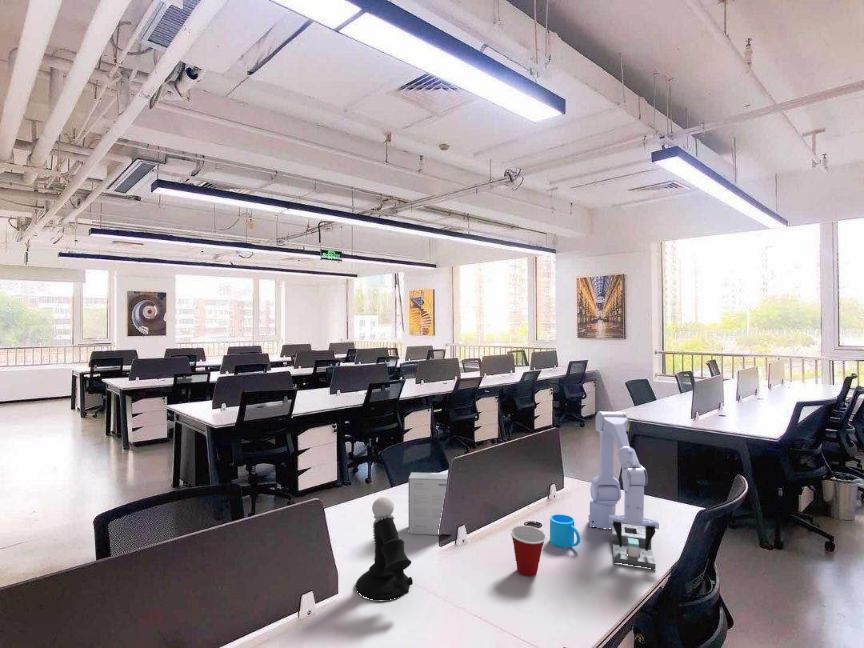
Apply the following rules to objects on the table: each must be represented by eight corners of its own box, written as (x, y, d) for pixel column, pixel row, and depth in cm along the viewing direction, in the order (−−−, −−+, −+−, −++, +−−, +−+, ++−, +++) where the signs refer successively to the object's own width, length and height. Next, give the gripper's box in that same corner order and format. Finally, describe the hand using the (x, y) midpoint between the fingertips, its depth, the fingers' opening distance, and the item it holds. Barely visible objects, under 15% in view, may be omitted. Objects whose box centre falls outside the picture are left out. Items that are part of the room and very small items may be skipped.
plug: (628, 561, 157) (628, 543, 157) (627, 556, 161) (627, 537, 161) (638, 563, 156) (638, 544, 156) (637, 557, 160) (637, 539, 160)
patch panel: (613, 563, 156) (614, 549, 156) (611, 535, 176) (611, 522, 176) (655, 570, 152) (655, 555, 152) (647, 540, 173) (648, 527, 173)
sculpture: (397, 568, 151) (398, 486, 151) (432, 609, 130) (433, 514, 130) (349, 579, 144) (349, 494, 144) (378, 624, 123) (379, 524, 123)
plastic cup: (534, 585, 142) (535, 543, 142) (502, 572, 149) (503, 532, 149) (552, 571, 151) (553, 531, 150) (521, 559, 158) (521, 522, 158)
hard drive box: (452, 527, 182) (453, 473, 181) (451, 536, 174) (452, 479, 174) (410, 525, 183) (411, 471, 183) (407, 534, 176) (408, 477, 175)
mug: (544, 540, 172) (544, 517, 172) (561, 535, 176) (561, 512, 176) (570, 554, 162) (571, 529, 161) (588, 549, 166) (588, 524, 166)
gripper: (610, 506, 157) (609, 549, 157) (660, 512, 152) (659, 556, 152) (609, 499, 163) (609, 540, 164) (657, 504, 159) (656, 546, 159)
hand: (633, 547), depth 158 cm, fingers open, 7 cm apart
